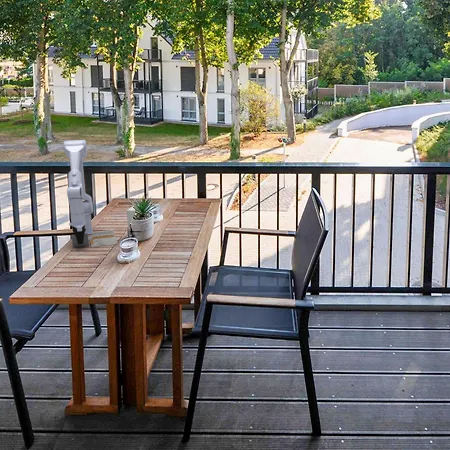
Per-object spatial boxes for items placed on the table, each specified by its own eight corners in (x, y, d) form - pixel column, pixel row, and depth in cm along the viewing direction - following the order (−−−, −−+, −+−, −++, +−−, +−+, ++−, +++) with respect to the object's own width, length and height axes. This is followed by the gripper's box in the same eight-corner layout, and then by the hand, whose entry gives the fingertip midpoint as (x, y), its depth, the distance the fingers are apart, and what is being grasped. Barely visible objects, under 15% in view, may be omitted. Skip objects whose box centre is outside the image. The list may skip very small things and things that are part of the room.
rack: (89, 238, 293) (88, 232, 292) (113, 236, 296) (113, 229, 295) (91, 247, 281) (91, 240, 280) (116, 244, 284) (116, 237, 283)
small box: (139, 232, 301) (137, 210, 298) (128, 232, 302) (126, 210, 299) (144, 227, 308) (143, 206, 305) (133, 227, 309) (132, 206, 306)
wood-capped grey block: (72, 245, 284) (71, 235, 282) (88, 243, 286) (87, 233, 284) (72, 247, 281) (71, 236, 280) (89, 245, 283) (87, 235, 281)
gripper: (67, 209, 285) (70, 239, 289) (68, 218, 271) (71, 248, 275) (83, 208, 287) (86, 237, 290) (85, 216, 273) (88, 246, 277)
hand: (80, 242), depth 283 cm, fingers closed on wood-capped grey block, 3 cm apart
